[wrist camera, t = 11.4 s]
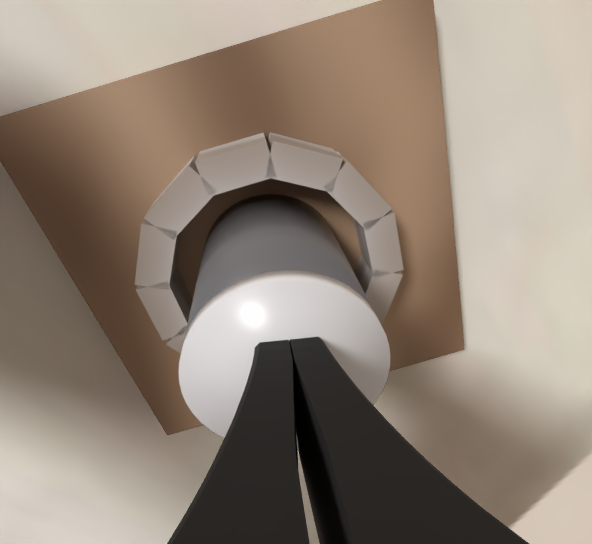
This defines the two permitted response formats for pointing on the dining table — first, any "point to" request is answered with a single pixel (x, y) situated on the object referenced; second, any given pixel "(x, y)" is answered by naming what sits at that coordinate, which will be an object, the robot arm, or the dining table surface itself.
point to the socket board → (251, 179)
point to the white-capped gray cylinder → (273, 304)
